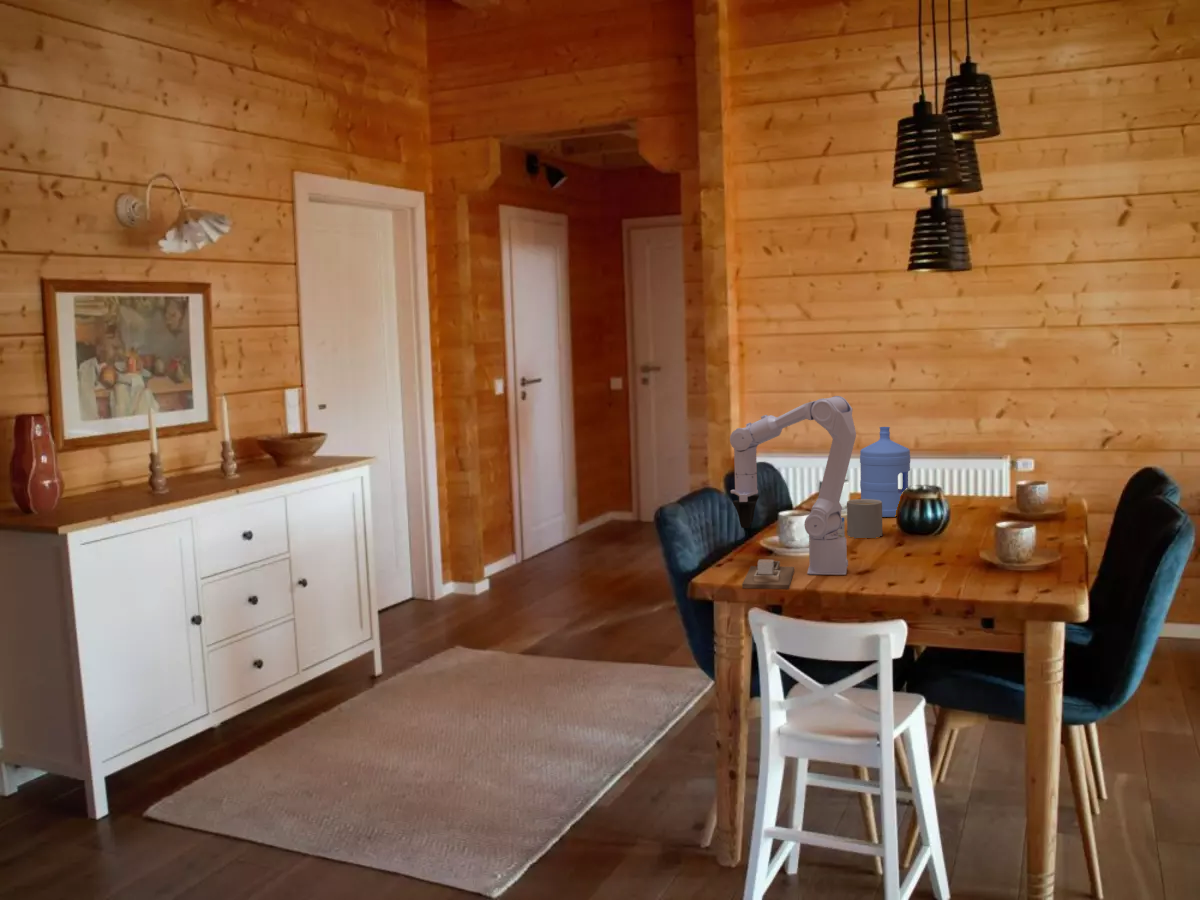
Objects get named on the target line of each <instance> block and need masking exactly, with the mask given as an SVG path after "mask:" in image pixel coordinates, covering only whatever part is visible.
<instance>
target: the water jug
mask: <svg viewBox="0 0 1200 900" xmlns="http://www.w3.org/2000/svg"><path fill="white" fill-rule="evenodd" d="M890 429H891V427H890V426H879V439H878V440H876V441H875V442H873V443H871V444H868V445H867V446H865V447H862V448H861V449H860V453H859V454H860V455H859V463H860V480H859V481H860V482H859V483H860V485H859V487H860V499H873V500H880V501H882V517H895V515H896V510H897V507H898V504H899V501H900V496H901V494H902V492H903V491H904V490H905V489H906V488H908V489H909V471H910V470H911V450H910V448H909V447H905V446H904V445H903V444H902V445H901V444H899V443H898V442H895V441H893V440H892V439H890V438H891V432H890ZM900 474H902V487H901V488H899V475H900Z"/></svg>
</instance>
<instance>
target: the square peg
mask: <svg viewBox="0 0 1200 900" xmlns="http://www.w3.org/2000/svg"><path fill="white" fill-rule="evenodd" d="M773 561H774V559H759V558H758V561H757V566H758V575H766V576H774V564H773Z"/></svg>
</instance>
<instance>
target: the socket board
mask: <svg viewBox="0 0 1200 900" xmlns="http://www.w3.org/2000/svg"><path fill="white" fill-rule="evenodd" d="M773 564H774V576H766V575H758V565H750V567H749V569H748V571H747V573H746V575H745V578H744V579H743V582H742V584H741V585H742V589H763V590H764V589H766V590H767V589H768V590H769V589H770V590H771V589H772V590H777V589H778V590H789V589H790V586H791V583H792V580H793V577H792V576H794V573H795V566H781V561H780V560H773Z"/></svg>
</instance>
